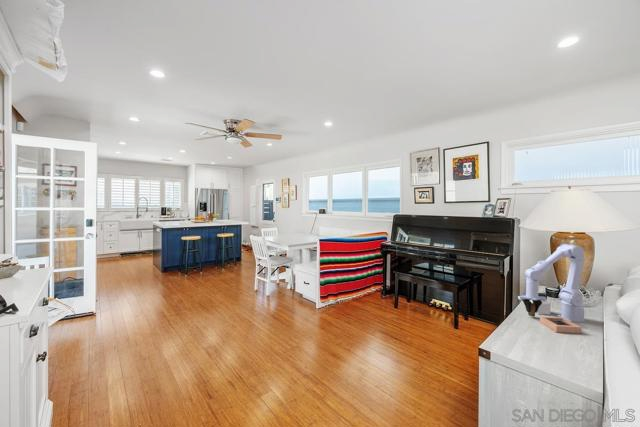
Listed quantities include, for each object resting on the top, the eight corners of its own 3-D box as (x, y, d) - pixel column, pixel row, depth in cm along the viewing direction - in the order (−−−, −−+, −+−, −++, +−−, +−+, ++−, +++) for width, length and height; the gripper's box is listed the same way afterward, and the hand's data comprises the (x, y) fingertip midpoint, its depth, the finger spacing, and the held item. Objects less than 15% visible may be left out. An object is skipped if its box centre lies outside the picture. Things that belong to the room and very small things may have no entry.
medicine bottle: (550, 315, 162) (551, 295, 162) (537, 314, 164) (537, 294, 164) (543, 310, 169) (543, 292, 169) (530, 309, 171) (531, 291, 171)
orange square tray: (562, 323, 151) (562, 317, 151) (581, 333, 139) (581, 327, 139) (539, 322, 152) (540, 316, 152) (556, 332, 140) (556, 326, 140)
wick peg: (532, 314, 160) (532, 302, 160) (536, 316, 157) (536, 304, 157) (526, 314, 161) (527, 302, 160) (530, 316, 157) (530, 304, 157)
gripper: (523, 291, 155) (523, 314, 155) (550, 292, 154) (549, 315, 154) (516, 287, 162) (515, 309, 162) (541, 288, 161) (540, 310, 161)
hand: (531, 311), depth 159 cm, fingers closed on wick peg, 3 cm apart
